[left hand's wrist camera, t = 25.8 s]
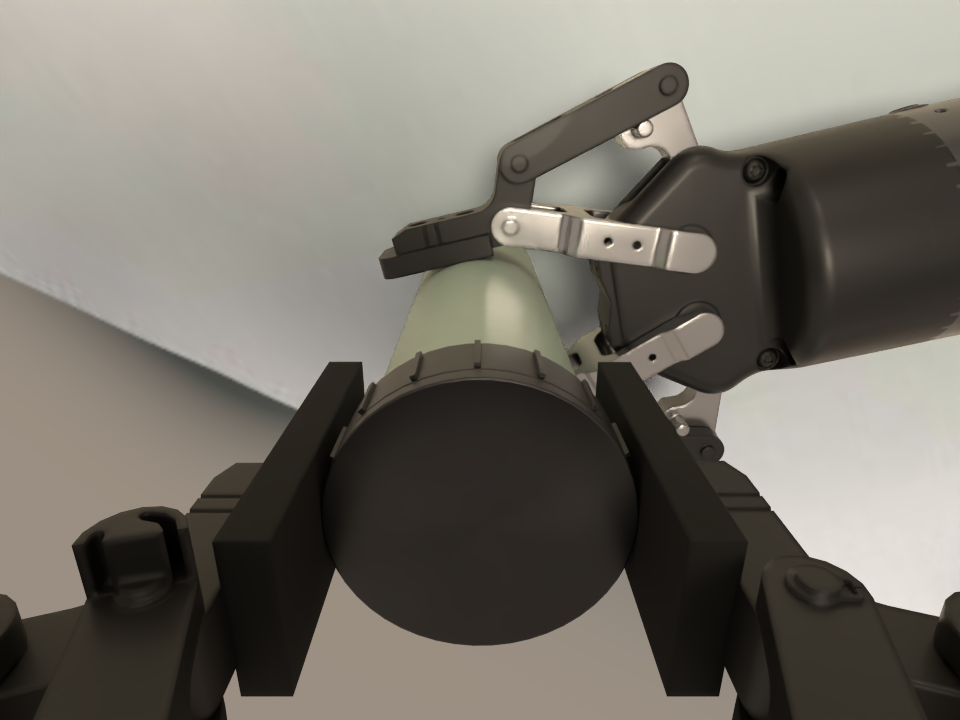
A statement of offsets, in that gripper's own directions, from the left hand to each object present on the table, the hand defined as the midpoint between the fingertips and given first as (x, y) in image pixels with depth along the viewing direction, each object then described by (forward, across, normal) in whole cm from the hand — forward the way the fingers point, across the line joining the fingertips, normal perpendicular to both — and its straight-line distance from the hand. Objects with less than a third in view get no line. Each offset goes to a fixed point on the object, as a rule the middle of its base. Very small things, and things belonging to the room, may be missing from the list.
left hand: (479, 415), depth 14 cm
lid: (-4, 0, 0) cm, 4 cm away
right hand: (+7, -2, -1) cm, 8 cm away
